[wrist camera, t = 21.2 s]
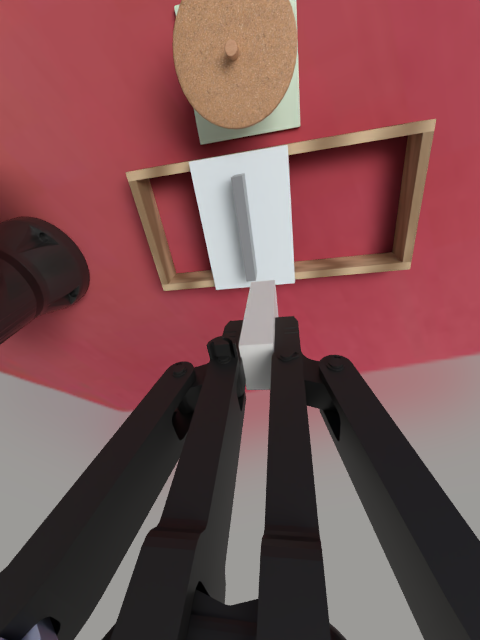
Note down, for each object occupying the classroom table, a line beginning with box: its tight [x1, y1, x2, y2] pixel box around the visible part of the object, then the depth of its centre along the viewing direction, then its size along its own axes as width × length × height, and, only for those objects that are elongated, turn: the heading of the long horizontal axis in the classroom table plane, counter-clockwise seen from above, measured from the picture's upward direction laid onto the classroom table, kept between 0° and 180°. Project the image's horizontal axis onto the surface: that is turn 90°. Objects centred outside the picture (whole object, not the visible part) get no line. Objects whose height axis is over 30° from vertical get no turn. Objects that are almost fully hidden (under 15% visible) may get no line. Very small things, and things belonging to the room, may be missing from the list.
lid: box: [189, 145, 295, 290], centre depth 34 cm, size 11×16×3 cm
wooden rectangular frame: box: [126, 119, 436, 291], centre depth 37 cm, size 34×16×4 cm, turn 99°
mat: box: [174, 0, 300, 145], centre depth 31 cm, size 12×12×1 cm
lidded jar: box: [173, 0, 297, 129], centre depth 27 cm, size 11×11×9 cm
